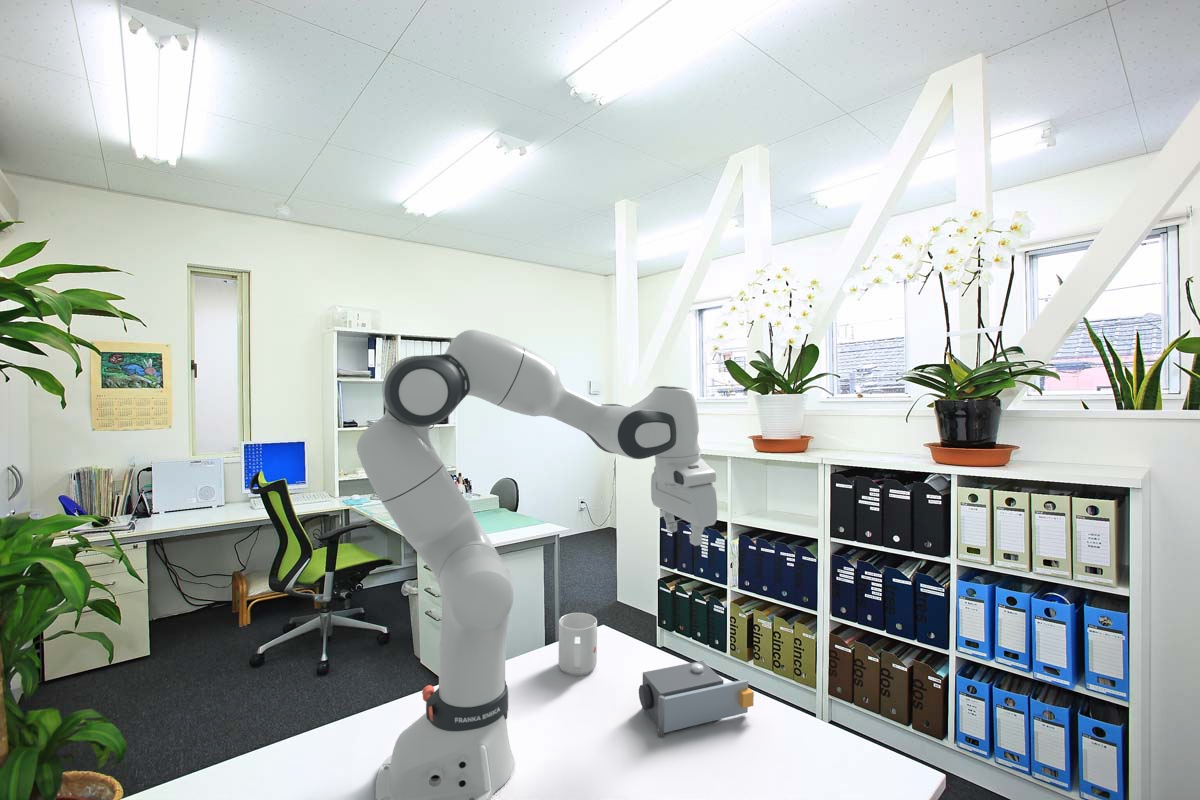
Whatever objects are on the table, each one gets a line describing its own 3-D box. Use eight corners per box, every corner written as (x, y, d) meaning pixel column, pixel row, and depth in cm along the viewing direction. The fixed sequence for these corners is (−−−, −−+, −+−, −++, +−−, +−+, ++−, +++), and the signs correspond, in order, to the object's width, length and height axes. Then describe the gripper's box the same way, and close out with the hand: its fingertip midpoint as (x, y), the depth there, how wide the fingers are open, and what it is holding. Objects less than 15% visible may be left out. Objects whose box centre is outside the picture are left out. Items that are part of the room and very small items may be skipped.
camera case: (654, 733, 104) (655, 690, 104) (636, 709, 111) (637, 669, 111) (722, 716, 109) (723, 676, 109) (701, 695, 117) (702, 657, 116)
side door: (662, 742, 101) (663, 703, 101) (656, 734, 104) (657, 696, 103) (753, 719, 108) (753, 683, 108) (745, 712, 111) (746, 676, 110)
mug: (559, 657, 132) (559, 612, 131) (596, 657, 132) (596, 612, 131) (556, 685, 120) (557, 635, 119) (597, 685, 120) (597, 636, 119)
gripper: (641, 462, 115) (646, 527, 116) (690, 479, 96) (696, 556, 97) (667, 458, 117) (672, 521, 118) (721, 474, 98) (726, 549, 99)
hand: (683, 537), depth 107 cm, fingers open, 8 cm apart
